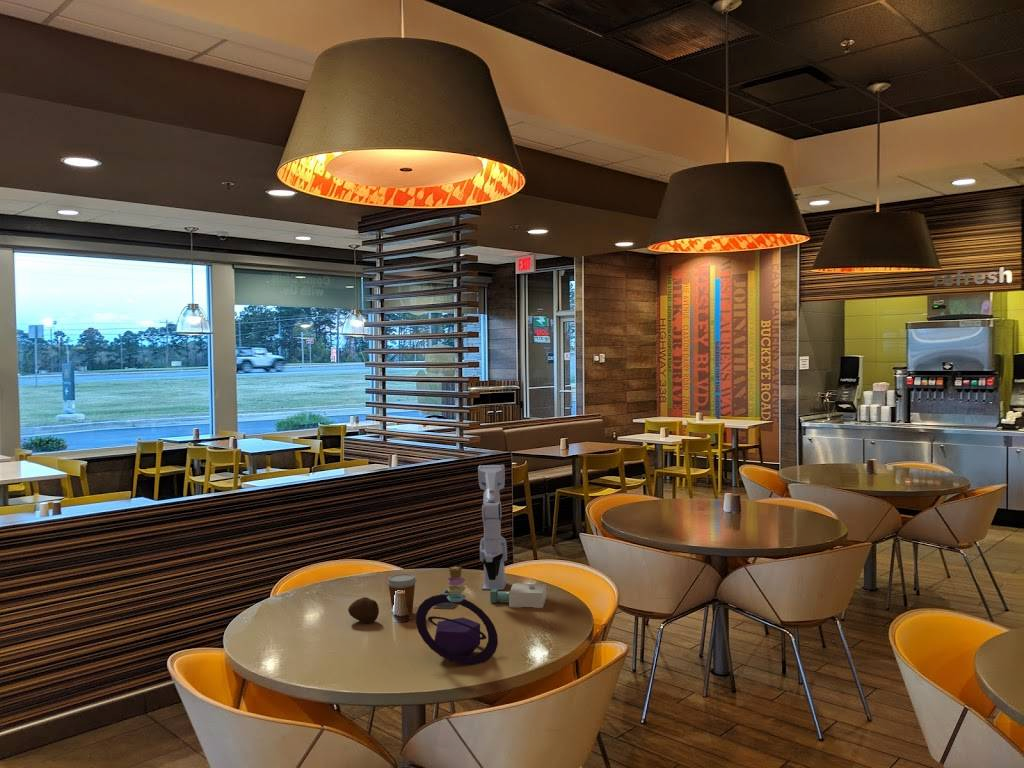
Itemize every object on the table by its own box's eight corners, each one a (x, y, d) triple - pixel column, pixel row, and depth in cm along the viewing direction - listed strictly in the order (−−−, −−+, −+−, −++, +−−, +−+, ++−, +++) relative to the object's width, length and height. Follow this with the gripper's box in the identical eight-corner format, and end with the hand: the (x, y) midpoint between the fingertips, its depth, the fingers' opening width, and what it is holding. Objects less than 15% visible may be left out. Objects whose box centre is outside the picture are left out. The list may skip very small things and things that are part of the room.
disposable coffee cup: (415, 618, 255) (414, 581, 255) (385, 618, 256) (384, 582, 255) (419, 608, 265) (418, 573, 264) (390, 609, 265) (389, 573, 265)
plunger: (447, 595, 277) (447, 587, 277) (455, 595, 276) (455, 588, 276) (445, 597, 274) (445, 590, 274) (453, 597, 274) (453, 590, 273)
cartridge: (492, 599, 272) (491, 588, 271) (535, 600, 269) (535, 589, 269) (490, 602, 268) (490, 591, 268) (534, 603, 266) (534, 592, 266)
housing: (513, 597, 274) (513, 581, 273) (546, 598, 272) (545, 581, 272) (509, 607, 264) (508, 589, 264) (542, 608, 262) (542, 590, 262)
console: (443, 594, 280) (443, 588, 280) (462, 594, 279) (462, 588, 279) (433, 608, 265) (432, 601, 265) (452, 608, 264) (452, 602, 264)
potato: (376, 626, 249) (375, 601, 249) (345, 626, 250) (345, 601, 249) (382, 618, 256) (381, 594, 256) (352, 618, 257) (351, 594, 257)
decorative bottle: (442, 677, 209) (440, 583, 208) (404, 654, 226) (401, 567, 224) (511, 656, 222) (509, 568, 221) (470, 635, 239) (468, 553, 238)
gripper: (484, 532, 277) (486, 571, 277) (476, 543, 262) (477, 583, 263) (504, 533, 275) (505, 571, 276) (497, 543, 261) (498, 584, 262)
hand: (493, 577), depth 269 cm, fingers open, 4 cm apart
